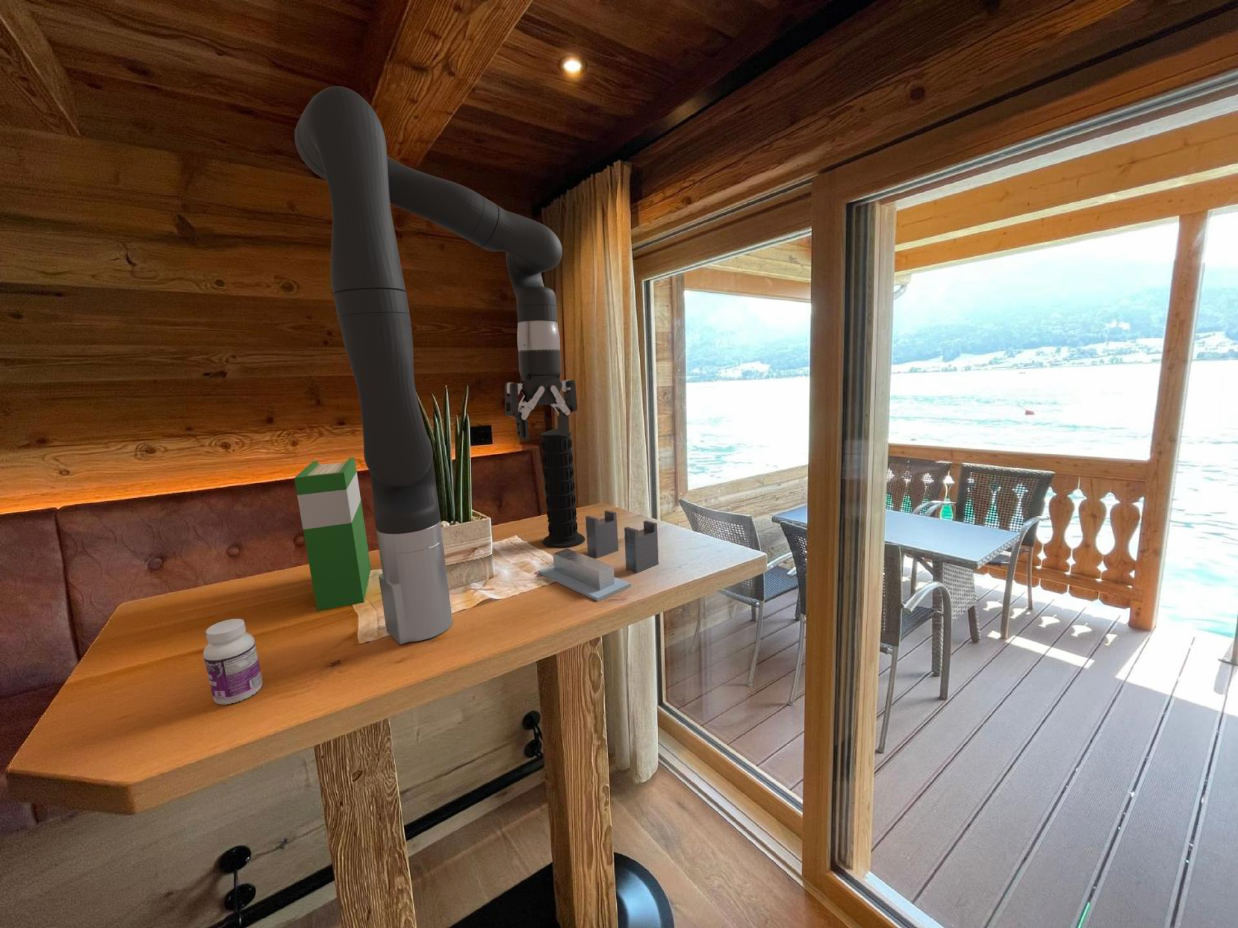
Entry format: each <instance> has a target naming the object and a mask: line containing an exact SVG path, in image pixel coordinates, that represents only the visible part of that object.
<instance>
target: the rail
mask: <svg viewBox="0 0 1238 928" xmlns="http://www.w3.org/2000/svg"><path fill="white" fill-rule="evenodd" d="M552 561H553V566H554V570H555V571H557V572H560V573H562V574H564V575H566V576H569V577H571V578H573V579H575V580H578V581H580V582H582V583H584V584H587V585H589V586H591V587H593V588H596V589H598V590H602V589H605V588H607V587H609V586H612V585H614V584H615V583H614V577H615V569H614V568H615V566H614V565H611V564H609V563H606V562H603V561H601V560H599V559H597V558H594V557H592V556H589V555H586V554H583V553H580V552H578V551H576V550H575V551H574V550H572V549H569V548H563V549H562V550H558V551H555V552H553V553H552Z"/></svg>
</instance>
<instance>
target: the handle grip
mask: <svg viewBox="0 0 1238 928" xmlns="http://www.w3.org/2000/svg"><path fill="white" fill-rule="evenodd" d="M571 435H572V431H570V430H569V432H568V434H567V435H565V436H562V435H559V434H558V428H553V429H551V430H547V431H545V432H542V433H540V437H541V440H542V441H541V449H542V453H541V454H543V456H542V463H543V468H544V470H543V476H544V479H543V481H544V483H545V484H544V491H545V496H546V497H545V504H546V506H545V507H546V509H547V511H546V517H547V521H546V522H547V523H548V527H547V530H548V535H547V536H545V537H544V538H543V540H542V542H541V543H542V545H543V546H544V547H547V548H551V549H569V548H574V547H577V546H579V545H582V544H583V543H584V542H585V541H586V538H585V536H584V534H583V533H582V534H581V533H579V531H578V529H579V528H578V522H577V521H578V517H577V508H576V507H577V503H576V502H577V499H576V490H575V489H576V488H575V487H576V486H575V485H576V483H575V476H574V475H575V472H574V470H575V469H574V463H573V461H574V456H573V449H572V446H573V441H572V439H571Z"/></svg>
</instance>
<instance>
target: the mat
mask: <svg viewBox="0 0 1238 928" xmlns="http://www.w3.org/2000/svg"><path fill="white" fill-rule="evenodd" d="M538 574H539V575H541V576H542V577H545V578H548V579H550V580H552V581H553V582H555V583H558V584H560V585H562V586H565V587H567V588H569V589H571V590H573V591H575V592H577V593H579V594H581V595H583V596H586V597H588V598H590V599H592V600H594V601H597V602H599V601H602V600H603V599H606V598H608V597H610V596H612V595H614V594H617V593H619V592H621V591H623V590H626V589H628V588H631V586H632V583H631V582H628V581H626V580H624V579H620V578H619V577H615V576H614V583H615V584H614V585H612V586H609V587H607V588H605V589H602V590H598V589H596V588H593V587H591V586H589V585H587V584H584V583H582V582H580V581H578V580H575V579H573V578H571V577H569V576H566V575H564V574H562V573H560V572H557V571H555V570H554V565H551V566H549V567H545V568H543V569H540V570H538Z"/></svg>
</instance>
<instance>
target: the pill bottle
mask: <svg viewBox="0 0 1238 928" xmlns="http://www.w3.org/2000/svg"><path fill="white" fill-rule="evenodd" d="M246 631H247V627H246V623H245V620H244V619H242V618H231V619H226V620H222V621H219V622H216V623H215V624H212V625H211V626H209V627H208V628H207V629H206V630H205V636H206V641H207V643H208V644H207V645H206V646H205V648H203V652H202V654H203V660H204V665H205V668H206V673H207V677H208V682H209V686H210V690H211V695H212V699H213V702H214V703H216V704H217V705H222V706H223V705H224V706H225V705H226V706H227V704H229V705H232V704H231V703H234V704H236V702H237V703H240V702H243V701H245V700H247V699H249V698H251V697H252V695H253V696H254V695H255V694H257V693H258V692H259V691H260V690H261V688H262V687H263V677H262V671H261V666H260V662H259V656H258V651H257V646H256V645H257V644H256V641H255V638H254V636H253V635H252V634H250V633H248V632H246ZM256 692H257V693H256ZM244 699H245V700H244ZM239 701H240V702H239Z"/></svg>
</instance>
